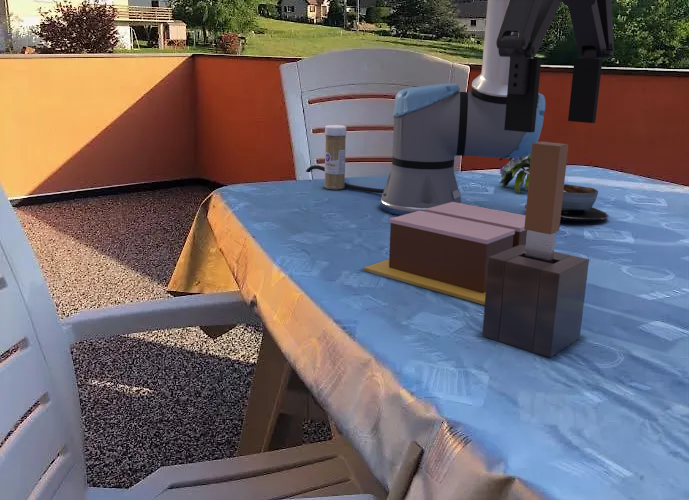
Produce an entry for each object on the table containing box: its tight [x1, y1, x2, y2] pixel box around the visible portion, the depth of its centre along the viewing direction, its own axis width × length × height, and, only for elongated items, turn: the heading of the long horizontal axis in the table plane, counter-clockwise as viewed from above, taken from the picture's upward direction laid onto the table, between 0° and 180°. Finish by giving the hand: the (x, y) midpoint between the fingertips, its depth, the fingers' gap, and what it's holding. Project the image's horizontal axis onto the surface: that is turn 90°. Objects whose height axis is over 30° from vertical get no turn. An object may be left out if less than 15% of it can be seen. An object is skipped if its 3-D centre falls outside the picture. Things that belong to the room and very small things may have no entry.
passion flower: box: [498, 154, 531, 195], centre depth 156 cm, size 11×11×12 cm
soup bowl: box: [524, 171, 609, 222], centre depth 131 cm, size 15×16×7 cm
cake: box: [363, 202, 527, 306], centre depth 98 cm, size 20×20×8 cm
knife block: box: [481, 245, 590, 359], centre depth 76 cm, size 8×7×9 cm
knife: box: [524, 141, 569, 264], centre depth 74 cm, size 3×2×21 cm, turn 48°
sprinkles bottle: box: [323, 124, 347, 191], centre depth 152 cm, size 5×5×14 cm
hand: (552, 126), depth 70 cm, fingers open, 13 cm apart
